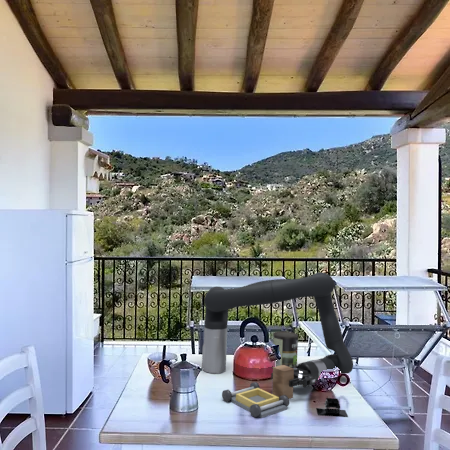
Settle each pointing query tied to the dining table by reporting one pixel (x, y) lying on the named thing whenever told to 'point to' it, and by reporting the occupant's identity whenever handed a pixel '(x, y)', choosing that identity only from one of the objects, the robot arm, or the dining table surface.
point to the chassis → (257, 400)
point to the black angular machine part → (331, 412)
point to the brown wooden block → (282, 381)
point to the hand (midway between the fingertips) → (280, 380)
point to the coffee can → (286, 348)
